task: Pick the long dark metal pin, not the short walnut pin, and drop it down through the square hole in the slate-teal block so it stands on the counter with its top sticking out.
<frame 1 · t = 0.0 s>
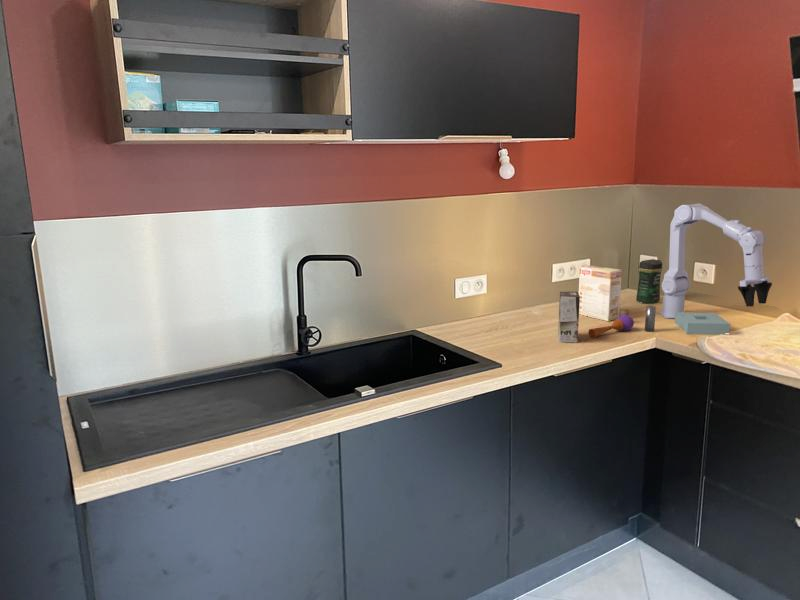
hand: (756, 304, 218), 11 cm above the worktop, tool pointing down, fingers open, 7 cm apart
kendama: (611, 334, 225), on the worktop
coffee box: (567, 339, 219), on the worktop
short pin: (623, 322, 238), on the worktop
long pin: (649, 330, 226), on the worktop
hole block: (700, 328, 228), on the worktop
coffeecake box: (597, 317, 248), on the worktop
coffee jar: (648, 302, 271), on the worktop
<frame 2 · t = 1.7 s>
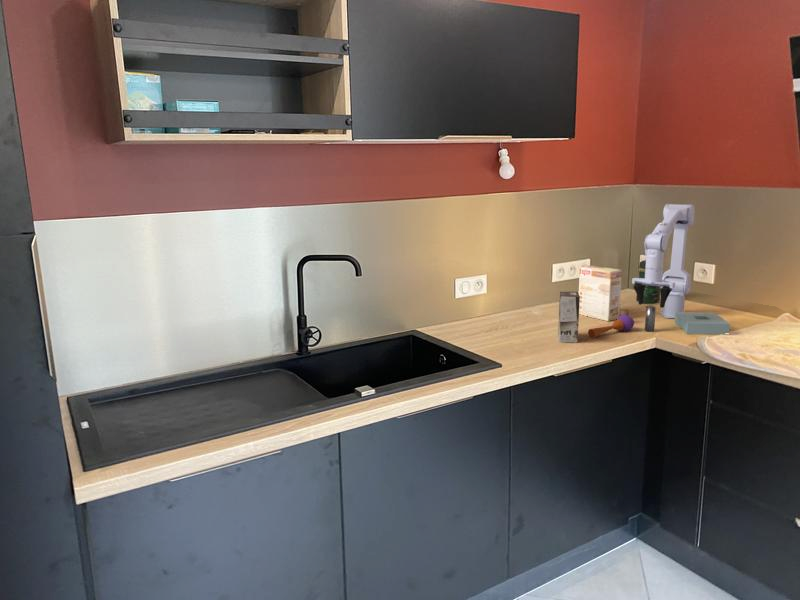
hand: (651, 305, 224), 9 cm above the worktop, tool pointing down, fingers open, 7 cm apart
nothing on the worktop moved.
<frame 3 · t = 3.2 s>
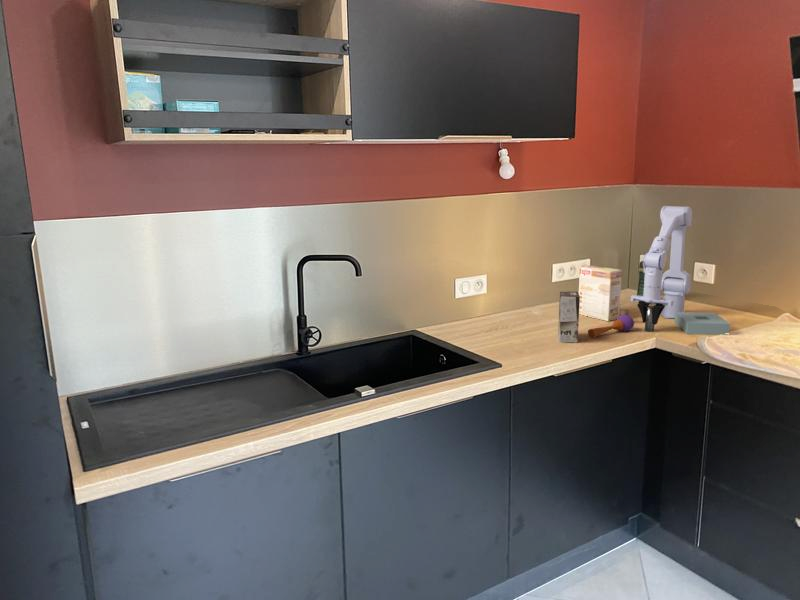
hand: (649, 323, 226), 3 cm above the worktop, tool pointing down, fingers closed on long pin, 3 cm apart
long pin: (649, 330, 226), on the worktop, touching gripper
everything else where it was.
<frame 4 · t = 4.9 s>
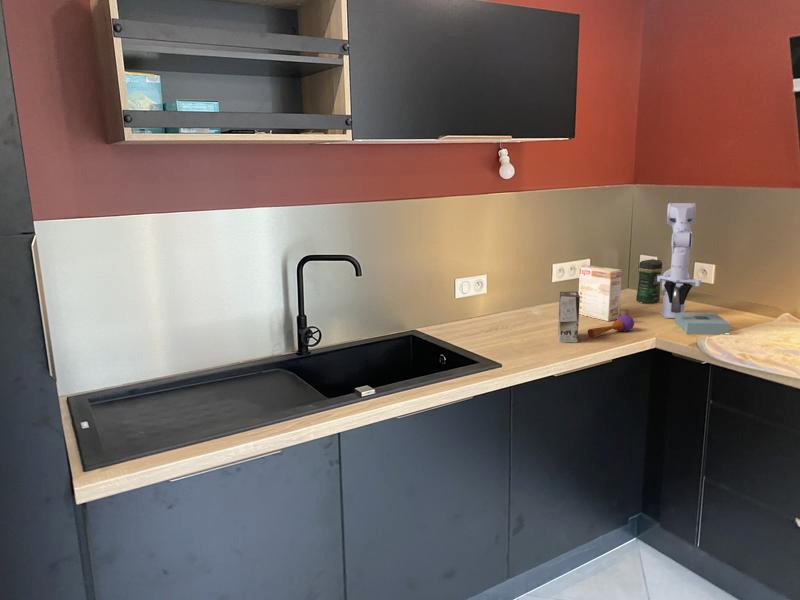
hand: (676, 303, 225), 10 cm above the worktop, tool pointing down, fingers closed on long pin, 3 cm apart
long pin: (675, 311, 226), point 7 cm above the worktop, touching gripper
everything else where it was.
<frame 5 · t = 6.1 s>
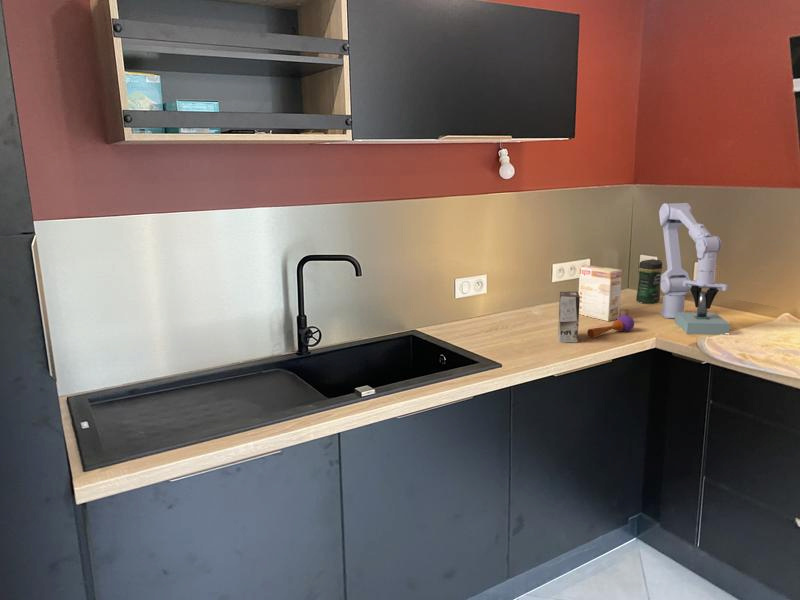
hand: (702, 307, 227), 8 cm above the worktop, tool pointing down, fingers closed on long pin, 3 cm apart
long pin: (701, 316, 227), point 5 cm above the worktop, touching gripper
everything else where it was.
when the fingers open (5 cm above the worktop, at t = 7.0 s): long pin drops 2 cm, resting in hole block.
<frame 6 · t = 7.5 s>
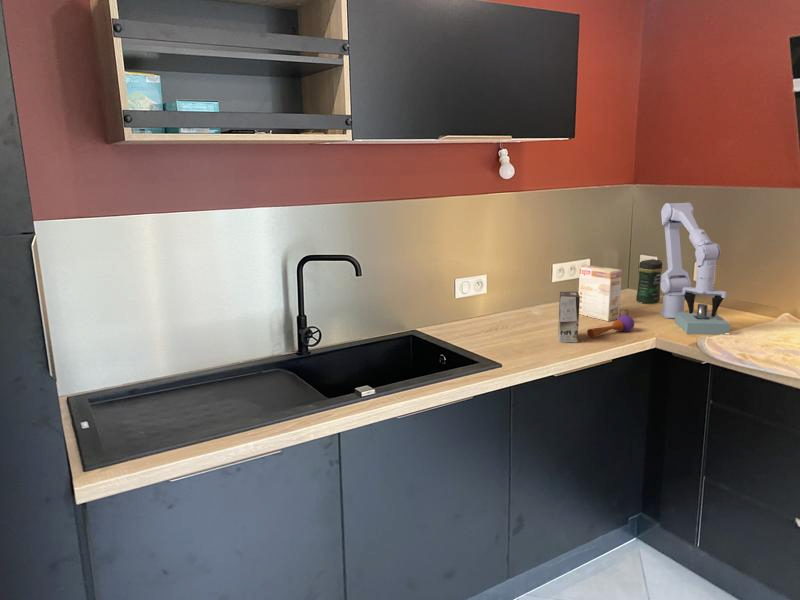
hand: (702, 314, 227), 5 cm above the worktop, tool pointing down, fingers open, 7 cm apart
long pin: (700, 328, 228), resting in hole block
everything else where it was.
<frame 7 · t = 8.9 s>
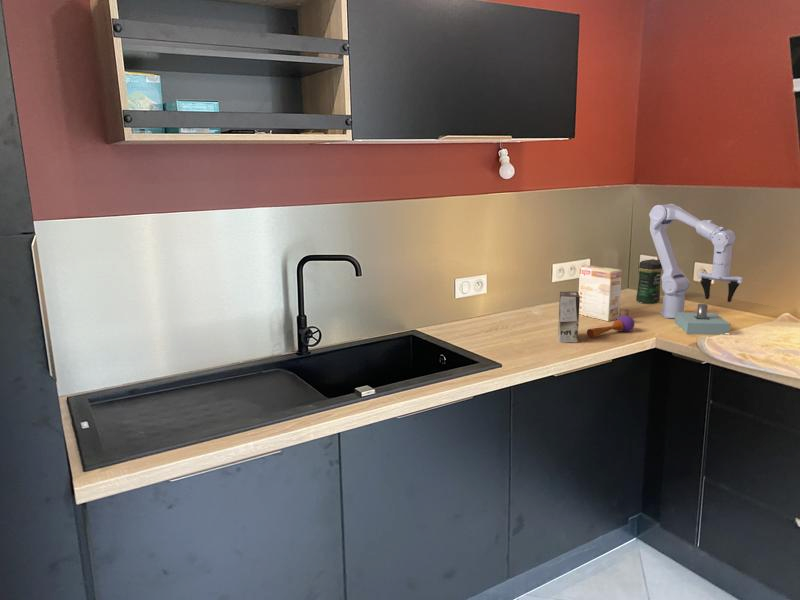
hand: (718, 300, 231), 9 cm above the worktop, tool pointing down, fingers open, 7 cm apart
nothing on the worktop moved.
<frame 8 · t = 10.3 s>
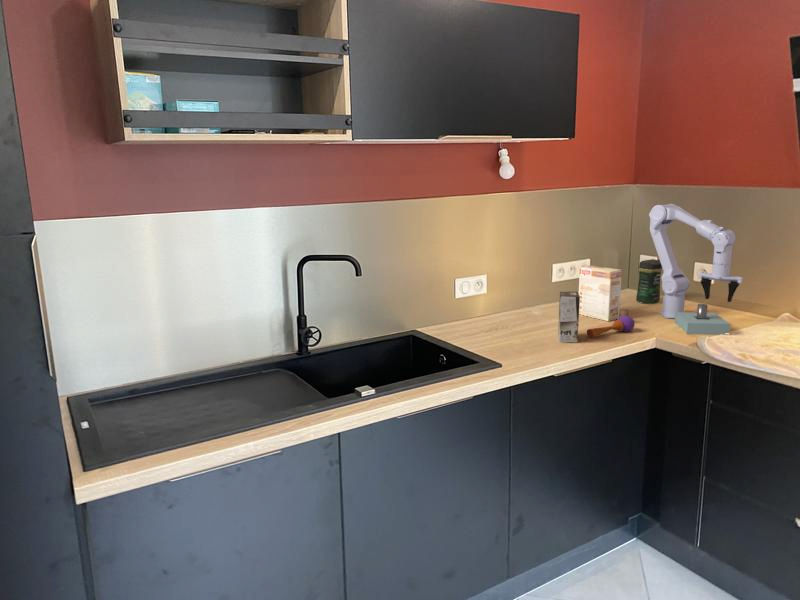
hand: (718, 300, 231), 9 cm above the worktop, tool pointing down, fingers open, 7 cm apart
nothing on the worktop moved.
at the end: long pin 0.4 cm off-centre on the hole block, point 0.0 cm above the hole block's base; long pin tilted 0°; short pin moved 0.0 cm from its start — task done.
